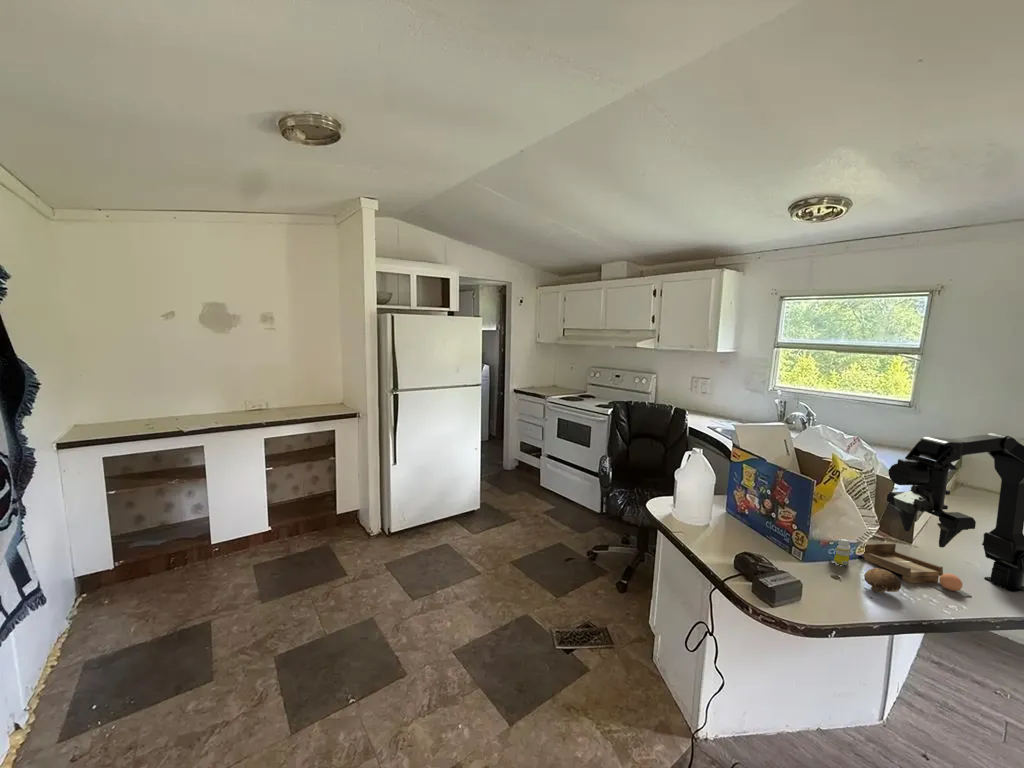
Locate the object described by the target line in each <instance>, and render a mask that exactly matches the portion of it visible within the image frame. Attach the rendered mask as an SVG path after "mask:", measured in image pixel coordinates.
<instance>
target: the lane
mask: <svg viewBox="0 0 1024 768" xmlns="http://www.w3.org/2000/svg"><path fill="white" fill-rule="evenodd" d="M865 542H866V546H865V552H864V558H865V559H866V560H865V559H864V560H865V561H866V562H868V563H871V564H874V565H876V566H879V567H881V568H883V569H885V570H888V571H890V572H891V571H892V572H894V573H897V574H900V575H901V577H902V578H901V579H902V580H903V581H904V582H906V583H908V584H926V583H927V584H931V583H939V578H940V577H941V575H943V574H944V571H943V570H944V568H943V566H940V565H937V564H934V563H931V562H927V561H926V560H922V559H919V558H916V557H913V556H911V555H907V554H904V553H902V552H898V551H896V547H897V544H896V543H895V542H893V541H871V542H869V541H868V542H867V541H865Z"/></svg>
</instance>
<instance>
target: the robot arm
mask: <svg viewBox="0 0 1024 768" xmlns="http://www.w3.org/2000/svg"><path fill="white" fill-rule="evenodd" d="M983 453H987V454H988V455H989V456H990V457H991V458H992V459H993V462H994V465H993V466H994V470H995V472H996V473H997V474H998V476H999V477H1000V479H1001V481H1000V490H999V496H998V497H999V498H998V505H997V506H998V507H997V515H996V522H995V527H994V528H993V529H991V531H989V532H984V533H983V541H982V543H981V546H983V550H984V554H985V558H987V559H989V560H992V561H993V565H992V568H991V572H990V573H991V574H990V576H985V577H983V579H984V580H986V581H988V582H990V583H992V584H993V583H994V585H995V584H996V585H995V586H998V587H1000V588H1002V589H1004V590H1006V591H1007V592H1010V591H1011V592H1013V593H1014V592H1015V593H1017V592H1019V591H1022V592H1024V445H1023V444H1022V443H1020V442H1019V441H1018V440H1016V439H1015V438H1014V437H1012V436H1010V435H1005V434H1001V433H995V432H988V433H986V434H978V435H975V436H974V435H973V436H972V435H971V436H964V437H957V438H944V437H937V436H935V437H934V436H925V437H922V438H920V440H919V441H918V442H917V443H916V444H915V446H914V447H912V449H911V450H910V451H909V453H907V454H906V456H905V457H904V459H901V458H900V459H899V458H898V459H897V463H894V464H892V465H891V466H890V467H889V469H888V476H889V479H890V481H892V483H893V484H895V485H898V486H910V490H909V491H890V492H889V493H887V495H886V502H888V503H889V504H890V506H891V507H894V509H896V511H898V514H899V516H900V520H901V524H902V526H903V530H904V531H905V532H910V531H911V529H912V526H913V524H914V520H915V516H916V514H917V512H921V513H924V512H926V513H928V514H931V515H933V516H936V517H938V521H939V523H938V522H937V523H936V525H937V526H938V527H939V529H940V530H939V538H938V546H939V548H945V547H946V546H947V544H949V543H950V542H951V541H952V540H953V539H954V538H955V537H956V536H957V535H959V534H960V533H961V532H962V531H968V530H975V529H976V524H977V522H976V520H975V518H974V517H972V516H969V515H967V514H964V513H962V512H958V511H944V510H948V509H949V506H948V505H947V504H945V499H946V496H947V495H950V494H951V490H948V489H947V486H948V480H949V479H948V478H949V472H950V471H955V470H957V467H956V465H954V464H953V462H956V461H960V460H961V459H962V457H964V456H968V455H975V454H983ZM1011 592H1010V593H1011Z"/></svg>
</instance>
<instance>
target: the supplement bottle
mask: <svg viewBox="0 0 1024 768" xmlns="http://www.w3.org/2000/svg"><path fill="white" fill-rule="evenodd" d="M850 541H851V540H846V539H841V540H840V539H839V542H838V544H839V545H838V546H837V548H836V555H835V558H834V561H835V562H836V563H837V564H839V565H842V566H848V567H849V563H850V555H851V545H850V544H851V542H850Z"/></svg>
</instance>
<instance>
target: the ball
mask: <svg viewBox="0 0 1024 768" xmlns="http://www.w3.org/2000/svg"><path fill="white" fill-rule="evenodd" d="M939 583H941V585H942V586H943V587H944V588H946V589H948V590H950V591H958V590H961V589H962V588H963V581H962V580H961V579H960V578H959V577H958V576H957V575H955V574H953V573H943V575H941V576H939Z"/></svg>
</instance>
